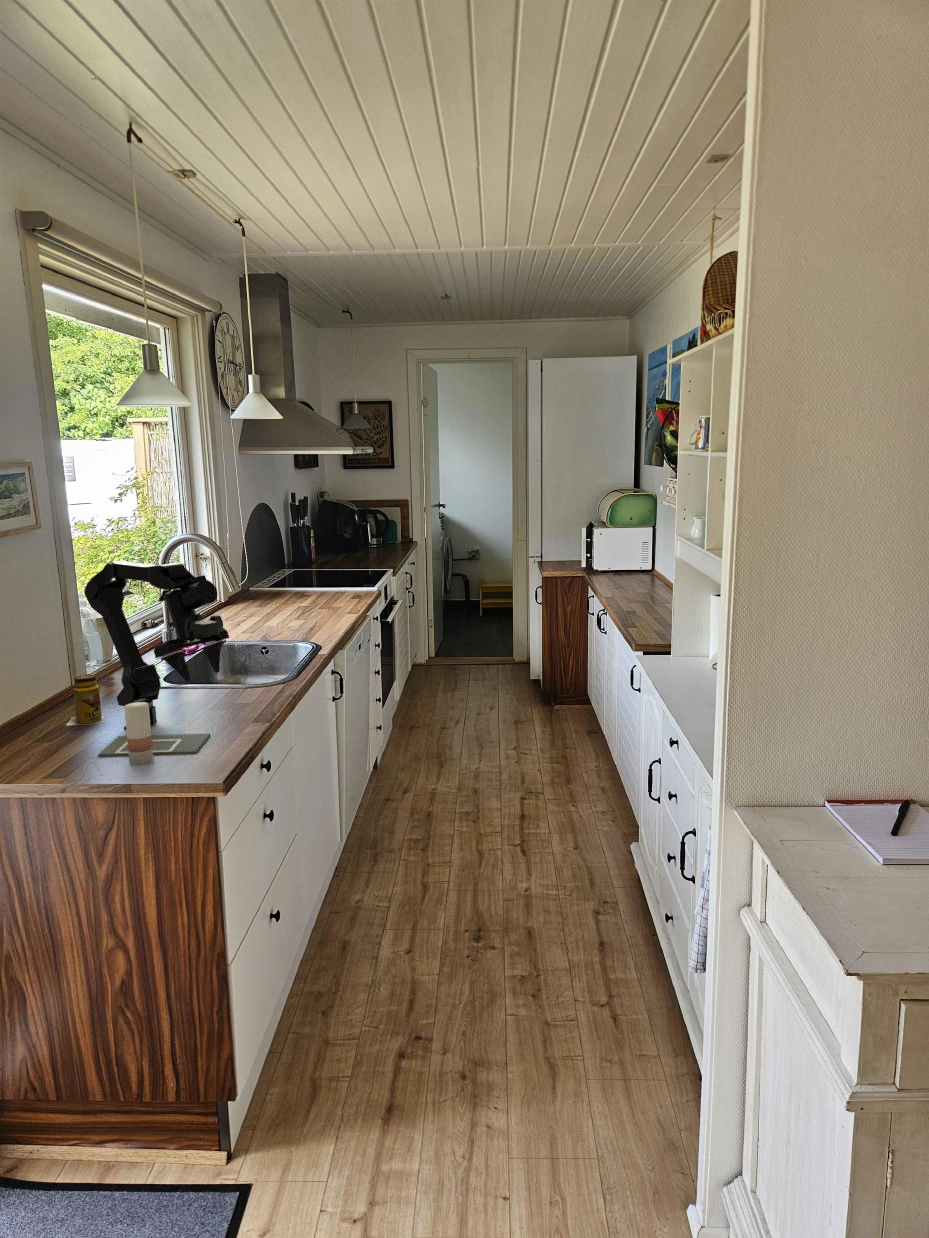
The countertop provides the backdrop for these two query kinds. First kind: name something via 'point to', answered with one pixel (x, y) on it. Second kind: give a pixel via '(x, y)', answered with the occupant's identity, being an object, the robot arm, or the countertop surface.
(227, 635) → the robot arm
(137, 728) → the player figure
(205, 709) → the countertop surface
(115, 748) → the mat
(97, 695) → the condiment
